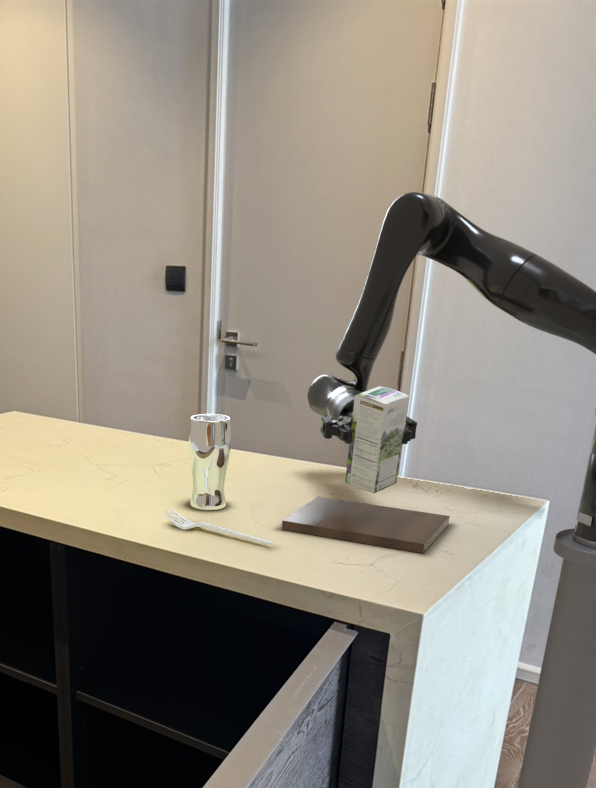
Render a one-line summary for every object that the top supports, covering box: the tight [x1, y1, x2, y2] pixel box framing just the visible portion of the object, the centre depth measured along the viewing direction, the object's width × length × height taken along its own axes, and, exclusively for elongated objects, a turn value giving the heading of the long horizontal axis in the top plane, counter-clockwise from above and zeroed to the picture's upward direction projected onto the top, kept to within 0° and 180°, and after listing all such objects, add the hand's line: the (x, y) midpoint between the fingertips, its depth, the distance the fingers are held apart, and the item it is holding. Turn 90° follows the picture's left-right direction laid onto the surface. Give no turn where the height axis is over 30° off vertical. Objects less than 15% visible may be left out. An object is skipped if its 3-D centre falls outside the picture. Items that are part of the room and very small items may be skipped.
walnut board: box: [281, 496, 451, 554], centre depth 136 cm, size 22×16×2 cm
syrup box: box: [344, 385, 410, 495], centre depth 130 cm, size 6×6×14 cm
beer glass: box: [188, 413, 232, 511], centre depth 145 cm, size 7×7×15 cm
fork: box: [162, 508, 274, 547], centre depth 133 cm, size 3×20×2 cm, turn 49°
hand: (378, 437), depth 129 cm, fingers closed on syrup box, 8 cm apart
